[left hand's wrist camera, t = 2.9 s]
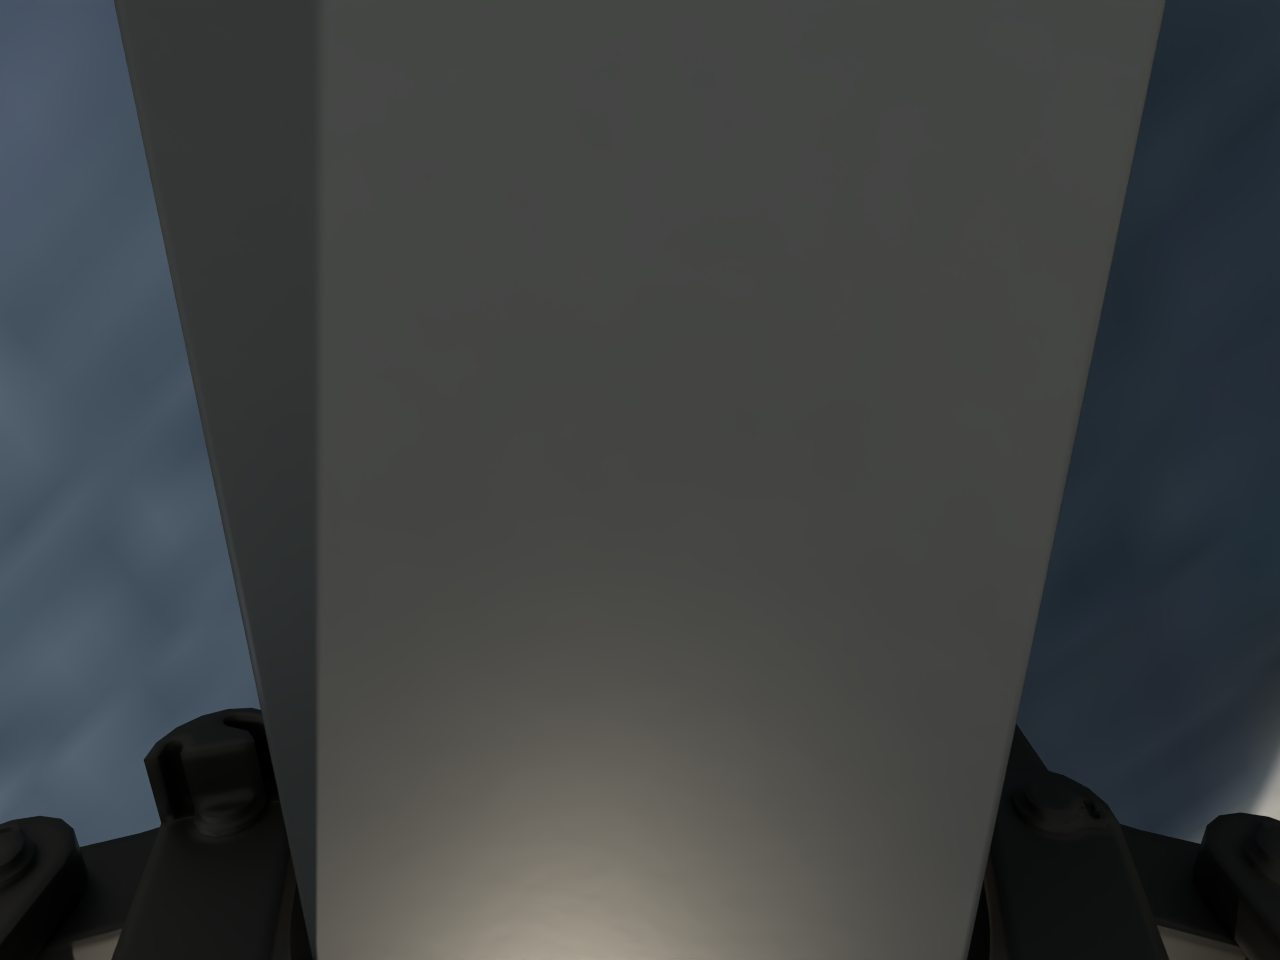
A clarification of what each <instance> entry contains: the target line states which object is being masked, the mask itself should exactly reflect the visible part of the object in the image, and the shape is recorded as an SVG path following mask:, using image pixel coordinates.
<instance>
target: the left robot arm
mask: <svg viewBox="0 0 1280 960" xmlns="http://www.w3.org/2000/svg"><path fill="white" fill-rule="evenodd" d="M144 763H145V766H146V770H147V773H148V777H149V781H150V784H151V788H152V791H153V795H154V798H155V802H156V806H157V809H158V813H159V816H160V820H161V826H160V827H159V828H155V829H152V830H149V831H146V832H142V833H139V834H135V835H130V836H126V837H122V838H117V839H113V840H109V841H105V842H100V843H96V844H92V845H87V846H83V847H79V844H78V841H77V838H76V835H75V832H74V829H73V828H72V827H71V826H69V825H68V824H67V823H66V822H64V821H63V820H62V819H59V818H52V817H44V816H36V817H29V818H23V819H16V820H11V821H8V822H6V823H3V824H0V960H313V958H312V953H311V948H310V943H309V938H308V933H307V929H306V924H305V919H304V914H303V909H302V905H301V900H300V895H299V890H298V885H297V880H296V876H295V871H294V866H293V861H292V856H291V852H290V847H289V842H288V837H287V832H286V827H285V823H284V818H283V813H282V808H281V803H280V799H279V794H278V789H277V784H276V779H275V774H274V770H273V765H272V760H271V755H270V750H269V746H268V741H267V736H266V731H265V726H264V721H263V717H262V712H261V710H258V709H254V708H241V709H227V710H223V711H219V712H215V713H211V714H207V715H203V716H200V717H198V718H196V719H194V720H192V721H190V722H188V723H185V724H183V725H181V726H179V727H177V728H175V729H174V730H173V731H171V732H170V733H169V734H167V735H166V736H165V737H163V738H162V739H161V740H159V741H158V742H157V743H156V744H155V745H154V747H153V748H152V749H151V751H150V752H149V753H148V755H147V756H146V757H145V759H144ZM967 960H1280V821H1279V820H1276V819H1273V818H1270V817H1267V816H1260V815H1253V814H1247V813H1234V814H1226V815H1219V816H1218V817H1217V818H1215V819H1214V820H1213V821H1212V822H1211V823H1209V824H1208V825H1207V827H1206V830H1205V833H1204V836H1203V839H1202V842H1201V844H1198V843H1194V842H1189V841H1185V840H1181V839H1176V838H1172V837H1168V836H1163V835H1159V834H1155V833H1151V832H1146V831H1142V830H1138V829H1135V828H1132V827H1128V826H1125V825H1122V824H1119V822H1118V821H1117V819H1116V817H1115V816H1114V814H1113V813H1112V811H1111V810H1110V808H1109V806H1108V805H1107V804H1106V803H1105V802H1104V801H1103V800H1101V799H1100V798H1099V797H1098V796H1097V795H1096V794H1094V793H1093V792H1092V791H1091V790H1090V789H1089V788H1087V787H1085V786H1083V785H1081V784H1079V783H1077V782H1076V781H1074V780H1072V779H1070V778H1068V777H1066V776H1064V775H1061V774H1057V773H1054V772H1050V771H1048V770H1047V768H1046V767H1045V765H1044V764H1043V762H1042V761H1041V759H1040V758H1039V756H1038V755H1037V753H1036V752H1035V751H1034V749H1033V748H1032V746H1031V745H1030V743H1029V742H1028V740H1027V739H1026V737H1025V736H1024V735H1023V733H1022V732H1021V730H1020V729H1019V727H1018V726H1017V724H1016V726H1015V730H1014V735H1013V740H1012V745H1011V750H1010V755H1009V759H1008V764H1007V769H1006V774H1005V779H1004V783H1003V788H1002V793H1001V798H1000V803H999V807H998V812H997V817H996V822H995V827H994V832H993V836H992V841H991V846H990V851H989V856H988V860H987V865H986V870H985V875H984V880H983V885H982V889H981V894H980V899H979V904H978V909H977V913H976V918H975V923H974V928H973V933H972V938H971V942H970V947H969V952H968V957H967Z"/></svg>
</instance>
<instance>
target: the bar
mask: <svg viewBox="0 0 1280 960" xmlns="http://www.w3.org/2000/svg"><path fill="white" fill-rule="evenodd" d="M114 3H115V8H116V13H117V18H118V23H119V28H120V32H121V37H122V42H123V47H124V52H125V56H126V61H127V66H128V71H129V76H130V81H131V85H132V90H133V95H134V100H135V105H136V109H137V114H138V119H139V124H140V129H141V134H142V138H143V143H144V148H145V153H146V158H147V162H148V167H149V172H150V177H151V182H152V187H153V191H154V196H155V201H156V206H157V211H158V215H159V220H160V225H161V230H162V235H163V240H164V244H165V249H166V254H167V259H168V264H169V268H170V273H171V278H172V283H173V288H174V293H175V297H176V302H177V307H178V312H179V317H180V322H181V326H182V331H183V336H184V341H185V346H186V350H187V355H188V360H189V365H190V370H191V375H192V379H193V384H194V389H195V394H196V399H197V403H198V408H199V413H200V418H201V423H202V428H203V432H204V437H205V442H206V447H207V452H208V456H209V461H210V466H211V471H212V476H213V481H214V485H215V490H216V495H217V500H218V505H219V509H220V514H221V519H222V524H223V529H224V534H225V538H226V543H227V548H228V553H229V558H230V562H231V567H232V572H233V577H234V582H235V587H236V591H237V596H238V601H239V606H240V611H241V615H242V620H243V625H244V630H245V635H246V640H247V644H248V649H249V654H250V659H251V664H252V668H253V673H254V678H255V683H256V688H257V693H258V697H259V702H260V707H261V712H262V717H263V721H264V726H265V731H266V736H267V741H268V746H269V750H270V755H271V760H272V765H273V770H274V774H275V779H276V784H277V789H278V794H279V799H280V803H281V808H282V813H283V818H284V823H285V827H286V832H287V837H288V842H289V847H290V852H291V856H292V861H293V866H294V871H295V876H296V880H297V885H298V890H299V895H300V900H301V905H302V909H303V914H304V919H305V924H306V929H307V933H308V938H309V943H310V948H311V953H312V958H313V960H967V957H968V952H969V947H970V942H971V938H972V933H973V928H974V923H975V918H976V913H977V909H978V904H979V899H980V894H981V889H982V885H983V880H984V875H985V870H986V865H987V860H988V856H989V851H990V846H991V841H992V836H993V832H994V827H995V822H996V817H997V812H998V807H999V803H1000V798H1001V793H1002V788H1003V783H1004V779H1005V774H1006V769H1007V764H1008V759H1009V755H1010V750H1011V745H1012V740H1013V735H1014V730H1015V726H1016V721H1017V716H1018V711H1019V706H1020V702H1021V697H1022V692H1023V687H1024V682H1025V677H1026V673H1027V668H1028V663H1029V658H1030V653H1031V649H1032V644H1033V639H1034V634H1035V629H1036V624H1037V620H1038V615H1039V610H1040V605H1041V600H1042V596H1043V591H1044V586H1045V581H1046V576H1047V571H1048V567H1049V562H1050V557H1051V552H1052V547H1053V543H1054V538H1055V533H1056V528H1057V523H1058V518H1059V514H1060V509H1061V504H1062V499H1063V494H1064V490H1065V485H1066V480H1067V475H1068V470H1069V465H1070V461H1071V456H1072V451H1073V446H1074V441H1075V437H1076V432H1077V427H1078V422H1079V417H1080V412H1081V408H1082V403H1083V398H1084V393H1085V388H1086V384H1087V379H1088V374H1089V369H1090V364H1091V360H1092V355H1093V350H1094V345H1095V340H1096V335H1097V331H1098V326H1099V321H1100V316H1101V311H1102V307H1103V302H1104V297H1105V292H1106V287H1107V282H1108V278H1109V273H1110V268H1111V263H1112V258H1113V254H1114V249H1115V244H1116V239H1117V234H1118V229H1119V225H1120V220H1121V215H1122V210H1123V205H1124V201H1125V196H1126V191H1127V186H1128V181H1129V176H1130V172H1131V167H1132V162H1133V157H1134V152H1135V148H1136V143H1137V138H1138V133H1139V128H1140V123H1141V119H1142V114H1143V109H1144V104H1145V99H1146V95H1147V90H1148V85H1149V80H1150V75H1151V70H1152V66H1153V61H1154V56H1155V51H1156V46H1157V42H1158V37H1159V32H1160V27H1161V22H1162V17H1163V13H1164V8H1165V3H1166V0H114Z"/></svg>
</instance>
